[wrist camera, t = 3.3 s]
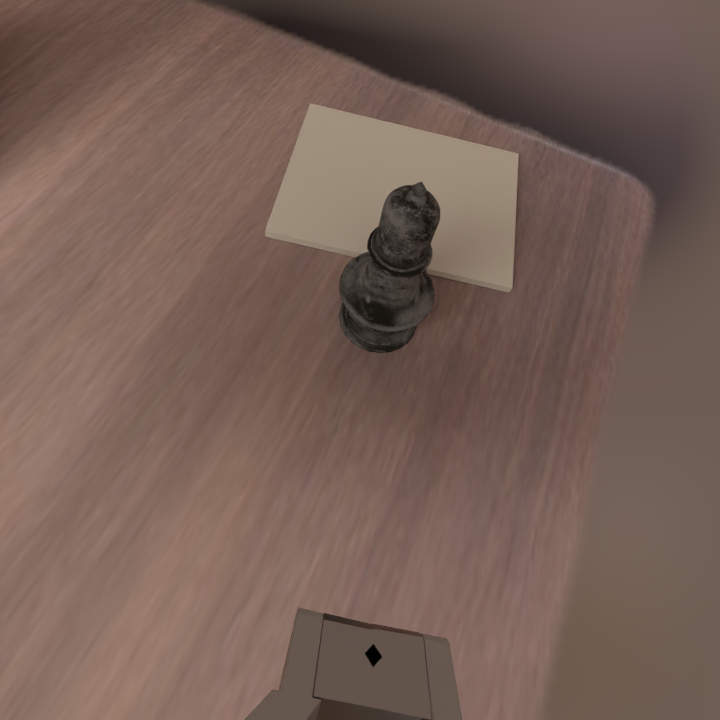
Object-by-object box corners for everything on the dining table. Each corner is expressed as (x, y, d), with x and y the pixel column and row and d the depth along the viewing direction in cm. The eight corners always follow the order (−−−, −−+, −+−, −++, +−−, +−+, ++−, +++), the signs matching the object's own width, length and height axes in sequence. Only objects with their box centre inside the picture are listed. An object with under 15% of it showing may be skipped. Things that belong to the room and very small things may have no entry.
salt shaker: (403, 274, 33) (455, 129, 22) (433, 345, 31) (506, 222, 20) (324, 290, 32) (339, 143, 21) (349, 366, 30) (380, 245, 19)
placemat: (265, 236, 33) (264, 231, 33) (310, 109, 39) (310, 103, 39) (509, 292, 34) (512, 288, 33) (515, 159, 40) (518, 153, 39)
